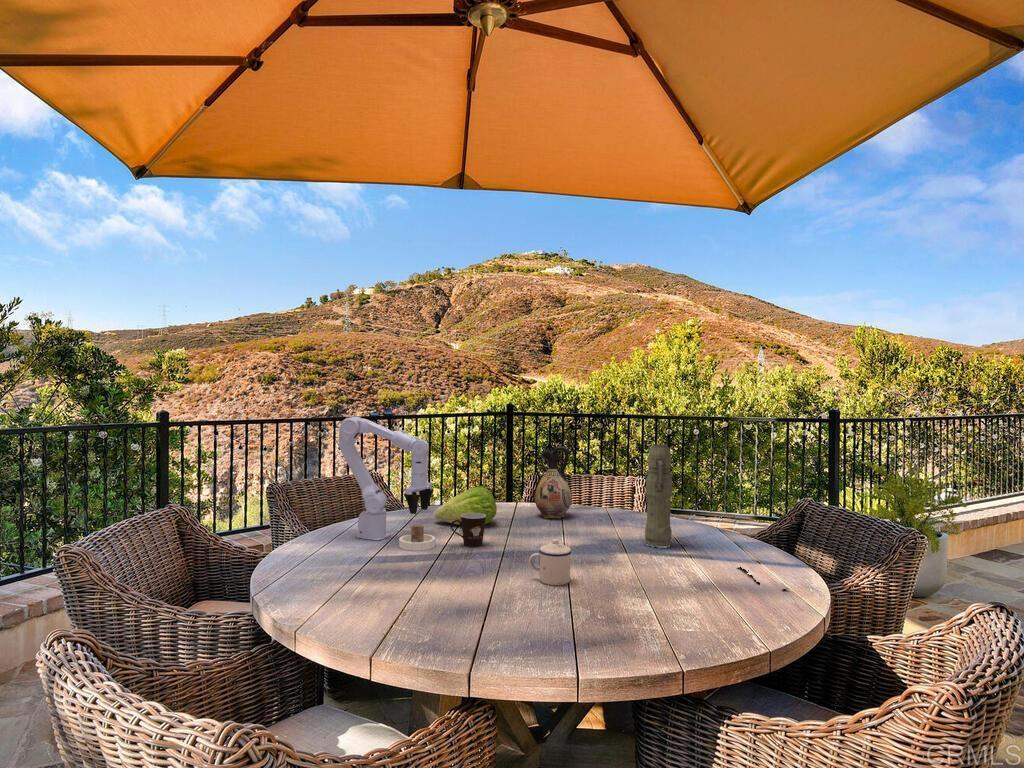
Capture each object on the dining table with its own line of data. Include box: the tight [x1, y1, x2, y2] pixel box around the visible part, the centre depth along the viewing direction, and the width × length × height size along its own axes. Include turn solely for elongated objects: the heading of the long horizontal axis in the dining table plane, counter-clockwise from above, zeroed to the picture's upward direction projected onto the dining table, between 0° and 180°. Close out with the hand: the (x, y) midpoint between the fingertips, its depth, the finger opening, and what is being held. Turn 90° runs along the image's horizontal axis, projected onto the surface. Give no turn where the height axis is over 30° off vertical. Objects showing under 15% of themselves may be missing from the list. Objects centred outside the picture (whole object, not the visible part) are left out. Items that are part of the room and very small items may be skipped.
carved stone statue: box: [644, 444, 673, 546], centre depth 206 cm, size 9×12×35 cm
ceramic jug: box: [534, 445, 573, 519], centre depth 247 cm, size 17×15×30 cm
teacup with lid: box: [528, 538, 572, 586], centre depth 168 cm, size 12×9×12 cm
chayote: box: [433, 485, 498, 526], centre depth 233 cm, size 15×24×16 cm
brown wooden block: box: [410, 524, 425, 542], centre depth 200 cm, size 4×1×6 cm, turn 67°
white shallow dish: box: [398, 533, 436, 552], centre depth 200 cm, size 12×12×2 cm
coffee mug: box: [450, 513, 486, 548], centre depth 203 cm, size 12×9×10 cm
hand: (418, 511), depth 210 cm, fingers open, 7 cm apart
